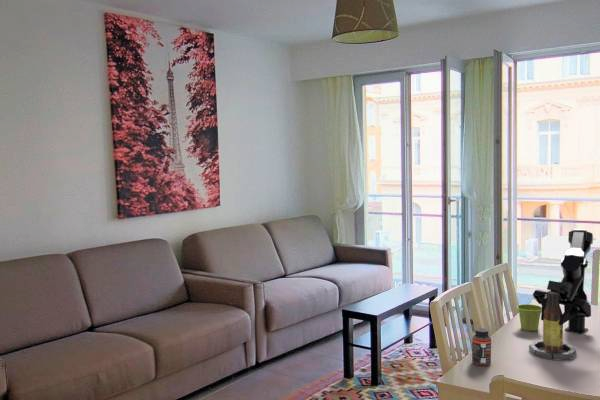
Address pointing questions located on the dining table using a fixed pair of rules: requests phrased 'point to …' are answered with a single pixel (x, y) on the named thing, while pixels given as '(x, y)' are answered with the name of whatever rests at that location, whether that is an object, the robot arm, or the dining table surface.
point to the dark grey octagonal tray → (563, 354)
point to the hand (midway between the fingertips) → (550, 322)
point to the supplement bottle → (481, 347)
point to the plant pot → (529, 316)
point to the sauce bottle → (552, 323)
